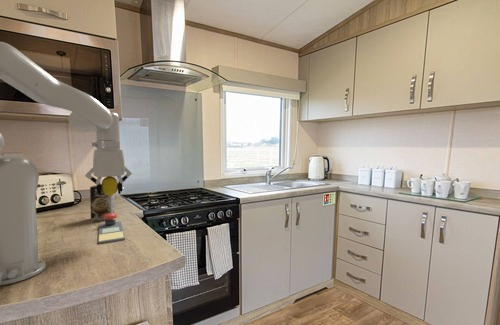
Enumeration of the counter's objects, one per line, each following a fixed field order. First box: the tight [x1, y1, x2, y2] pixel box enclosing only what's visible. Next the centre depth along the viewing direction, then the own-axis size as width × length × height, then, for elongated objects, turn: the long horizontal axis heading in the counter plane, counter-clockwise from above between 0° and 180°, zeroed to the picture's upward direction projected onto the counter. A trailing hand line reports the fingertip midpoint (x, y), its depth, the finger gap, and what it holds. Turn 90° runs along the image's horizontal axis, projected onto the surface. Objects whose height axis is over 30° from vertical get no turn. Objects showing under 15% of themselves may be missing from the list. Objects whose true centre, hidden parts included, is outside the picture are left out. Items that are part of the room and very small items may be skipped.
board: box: [97, 218, 126, 245], centre depth 101 cm, size 26×8×2 cm, turn 30°
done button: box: [104, 212, 118, 221], centre depth 109 cm, size 5×5×2 cm
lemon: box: [101, 176, 118, 197], centre depth 94 cm, size 6×6×8 cm
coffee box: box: [89, 185, 116, 222], centre depth 121 cm, size 9×6×16 cm
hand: (109, 193), depth 94 cm, fingers closed on lemon, 5 cm apart
